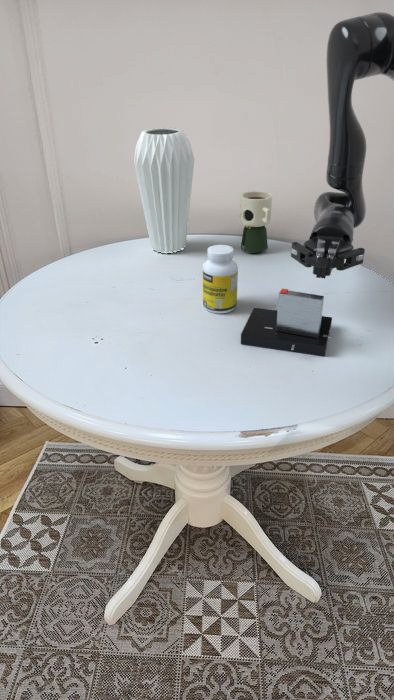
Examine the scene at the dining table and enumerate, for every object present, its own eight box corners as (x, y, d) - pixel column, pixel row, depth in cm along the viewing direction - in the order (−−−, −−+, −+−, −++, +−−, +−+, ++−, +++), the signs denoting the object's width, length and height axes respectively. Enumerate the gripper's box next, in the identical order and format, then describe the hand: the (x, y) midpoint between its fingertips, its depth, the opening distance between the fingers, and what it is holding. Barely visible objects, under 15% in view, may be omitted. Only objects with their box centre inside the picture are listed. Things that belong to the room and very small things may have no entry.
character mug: (229, 245, 128) (230, 191, 121) (254, 240, 131) (257, 187, 124) (253, 261, 120) (255, 203, 113) (279, 255, 122) (283, 199, 115)
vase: (129, 250, 127) (118, 133, 113) (167, 234, 135) (161, 123, 121) (170, 263, 119) (163, 140, 105) (207, 246, 128) (206, 129, 114)
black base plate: (334, 327, 94) (336, 316, 93) (326, 365, 84) (328, 354, 83) (253, 316, 98) (253, 306, 97) (236, 352, 88) (236, 340, 86)
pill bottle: (195, 306, 102) (194, 248, 95) (220, 296, 105) (220, 239, 99) (219, 318, 97) (219, 259, 91) (244, 307, 101) (245, 249, 95)
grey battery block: (319, 333, 88) (324, 294, 84) (317, 338, 87) (322, 298, 83) (278, 326, 90) (281, 287, 87) (275, 330, 89) (278, 291, 85)
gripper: (297, 213, 99) (281, 246, 85) (371, 219, 95) (367, 254, 81) (294, 252, 103) (278, 289, 89) (365, 258, 99) (360, 298, 85)
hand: (321, 272), depth 85 cm, fingers closed
